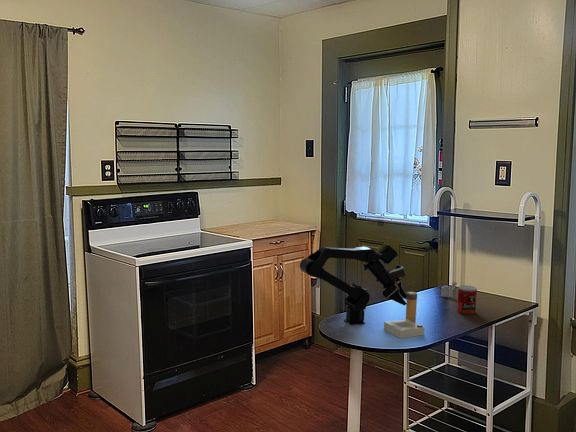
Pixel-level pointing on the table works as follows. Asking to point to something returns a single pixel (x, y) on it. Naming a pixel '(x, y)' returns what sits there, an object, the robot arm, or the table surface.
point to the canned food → (466, 299)
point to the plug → (411, 306)
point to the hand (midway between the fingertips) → (406, 301)
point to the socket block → (404, 328)
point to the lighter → (447, 290)
